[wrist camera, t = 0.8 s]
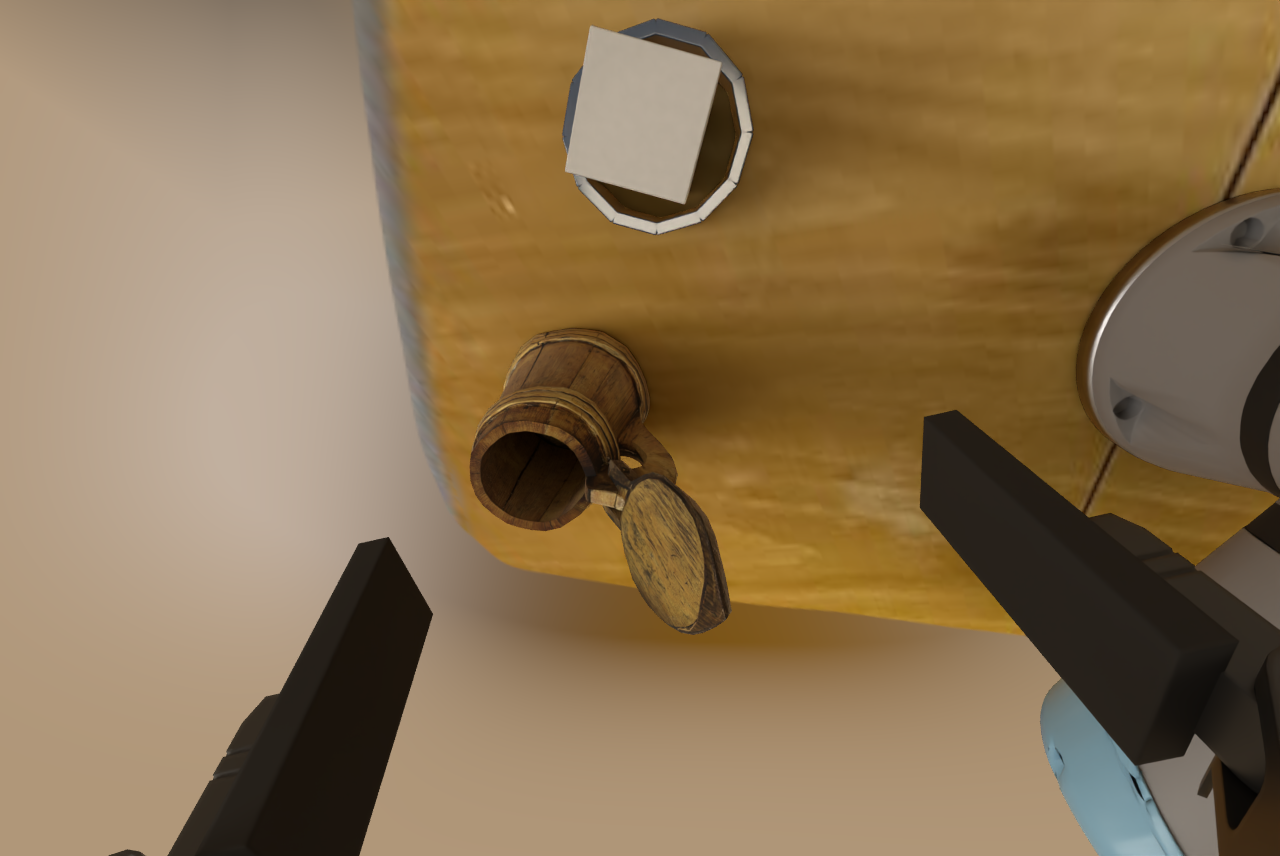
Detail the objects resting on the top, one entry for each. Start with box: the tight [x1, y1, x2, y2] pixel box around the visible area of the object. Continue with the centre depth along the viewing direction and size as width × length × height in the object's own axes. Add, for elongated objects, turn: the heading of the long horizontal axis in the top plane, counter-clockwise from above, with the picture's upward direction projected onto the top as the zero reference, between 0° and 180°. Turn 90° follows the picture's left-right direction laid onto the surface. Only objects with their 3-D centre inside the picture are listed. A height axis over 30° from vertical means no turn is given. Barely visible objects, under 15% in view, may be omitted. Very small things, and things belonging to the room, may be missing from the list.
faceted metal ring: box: [562, 19, 754, 235], centre depth 28 cm, size 9×9×4 cm
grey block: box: [565, 26, 722, 204], centre depth 24 cm, size 4×4×12 cm
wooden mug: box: [470, 328, 732, 635], centre depth 28 cm, size 9×14×18 cm, turn 81°
